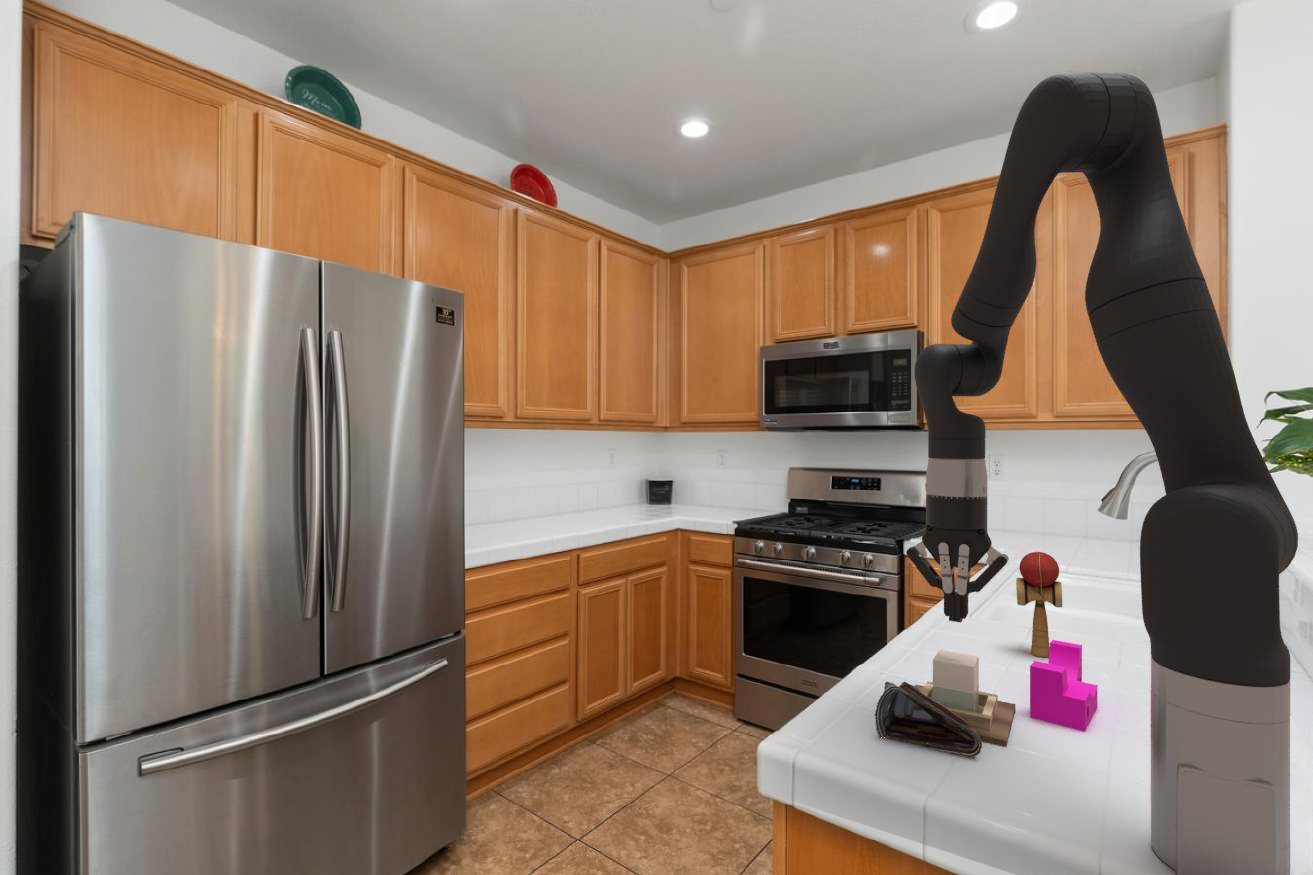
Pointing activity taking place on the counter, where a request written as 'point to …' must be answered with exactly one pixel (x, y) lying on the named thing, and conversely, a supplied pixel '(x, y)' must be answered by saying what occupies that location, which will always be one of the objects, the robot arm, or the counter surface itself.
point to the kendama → (1039, 595)
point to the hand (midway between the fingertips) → (955, 620)
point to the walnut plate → (985, 716)
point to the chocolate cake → (923, 722)
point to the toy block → (1062, 688)
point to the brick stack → (956, 680)
